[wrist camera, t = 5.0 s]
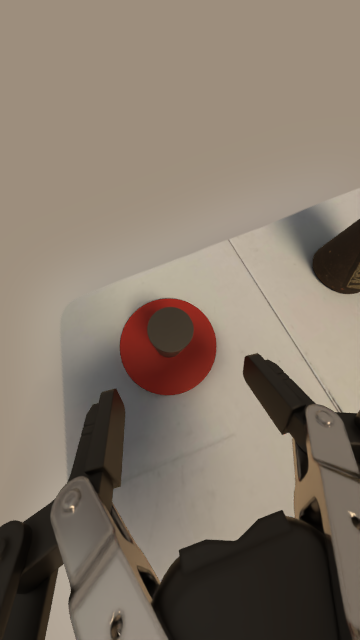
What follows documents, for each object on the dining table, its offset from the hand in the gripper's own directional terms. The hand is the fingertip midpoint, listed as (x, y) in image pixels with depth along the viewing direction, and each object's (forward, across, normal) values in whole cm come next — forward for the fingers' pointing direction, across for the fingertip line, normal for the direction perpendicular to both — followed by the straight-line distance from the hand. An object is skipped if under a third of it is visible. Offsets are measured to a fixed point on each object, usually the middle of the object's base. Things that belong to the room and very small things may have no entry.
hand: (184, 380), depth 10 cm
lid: (+9, 0, +4) cm, 10 cm away
